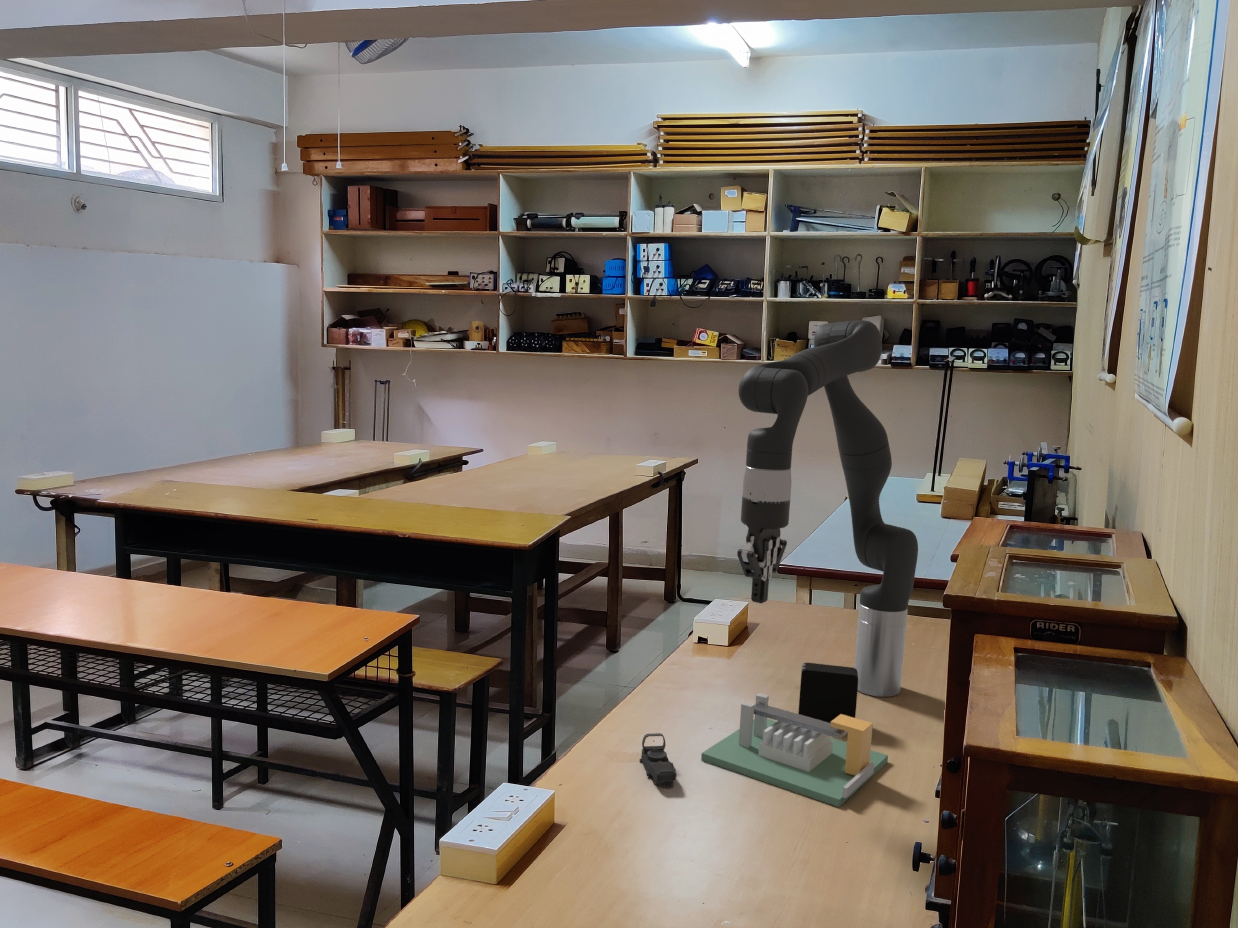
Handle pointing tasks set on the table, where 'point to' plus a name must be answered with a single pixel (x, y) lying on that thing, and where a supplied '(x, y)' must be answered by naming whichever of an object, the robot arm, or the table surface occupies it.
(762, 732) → the slotted rack on board
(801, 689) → the electronic device
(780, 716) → the strap
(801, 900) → the table surface
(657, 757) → the reflex sight
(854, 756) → the clip
